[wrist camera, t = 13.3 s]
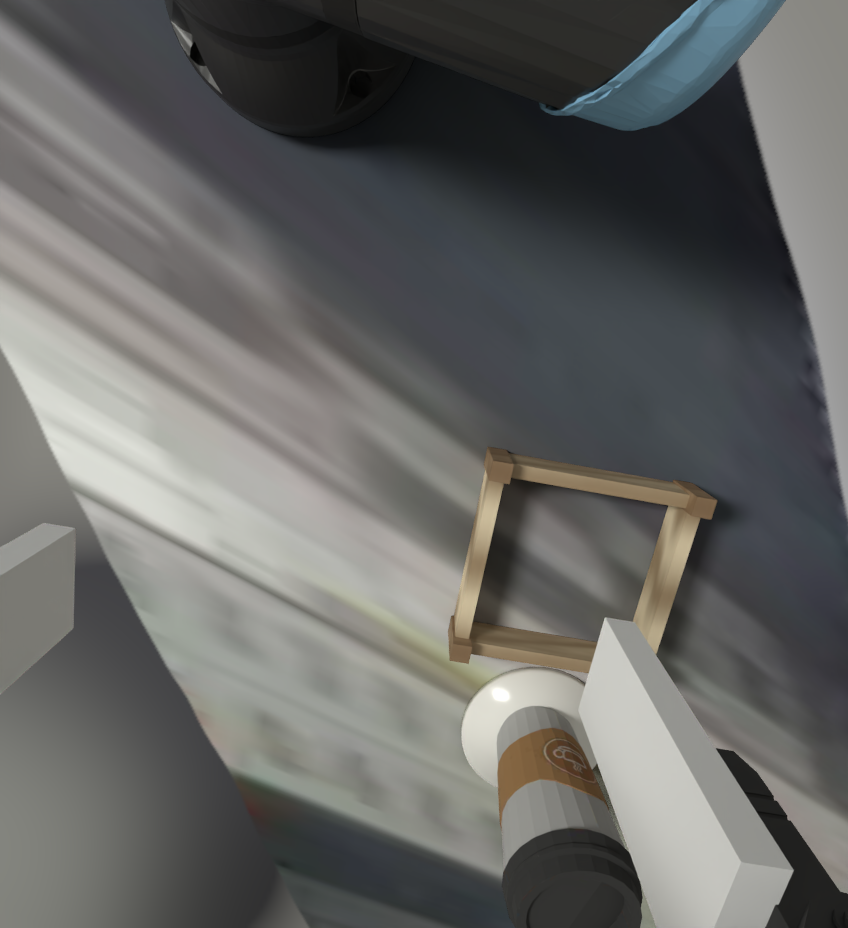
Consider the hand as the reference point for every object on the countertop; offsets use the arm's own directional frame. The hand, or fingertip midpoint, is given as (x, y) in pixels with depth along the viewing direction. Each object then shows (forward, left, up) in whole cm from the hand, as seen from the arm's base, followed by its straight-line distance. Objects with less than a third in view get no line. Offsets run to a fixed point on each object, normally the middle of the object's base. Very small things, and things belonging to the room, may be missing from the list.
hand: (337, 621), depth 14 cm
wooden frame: (+9, +15, -29) cm, 33 cm away
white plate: (+24, +16, -29) cm, 41 cm away
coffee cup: (+24, +16, -28) cm, 40 cm away
